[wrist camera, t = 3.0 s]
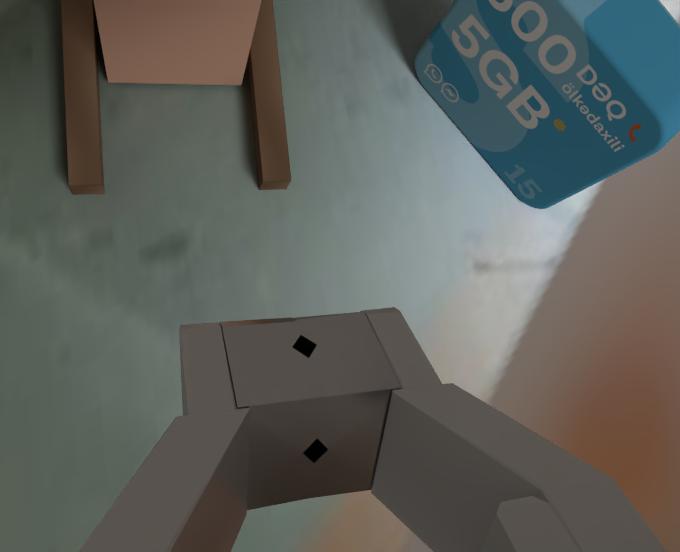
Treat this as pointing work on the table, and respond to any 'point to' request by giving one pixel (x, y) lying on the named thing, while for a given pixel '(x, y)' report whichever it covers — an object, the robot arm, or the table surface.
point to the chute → (86, 103)
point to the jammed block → (176, 40)
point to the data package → (556, 87)
